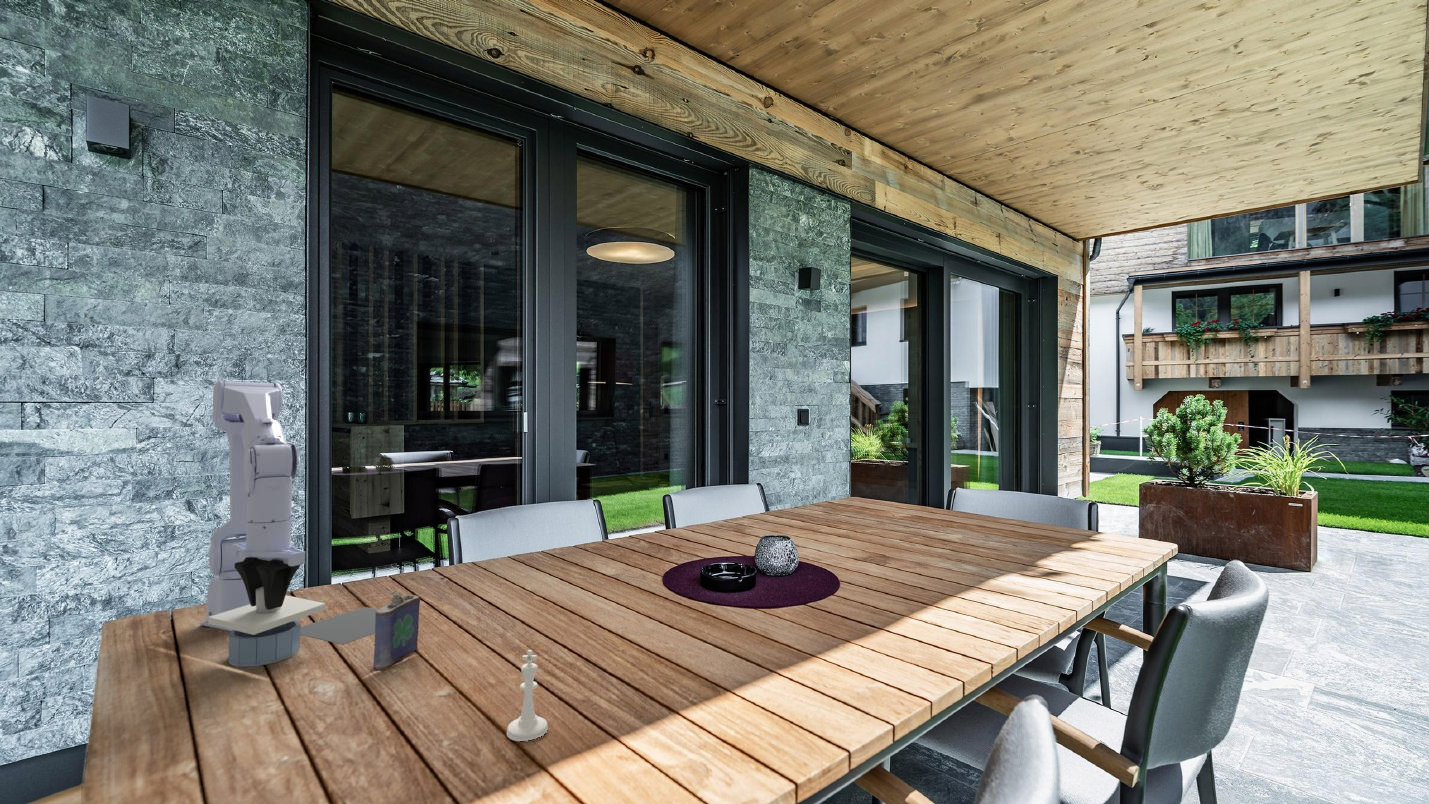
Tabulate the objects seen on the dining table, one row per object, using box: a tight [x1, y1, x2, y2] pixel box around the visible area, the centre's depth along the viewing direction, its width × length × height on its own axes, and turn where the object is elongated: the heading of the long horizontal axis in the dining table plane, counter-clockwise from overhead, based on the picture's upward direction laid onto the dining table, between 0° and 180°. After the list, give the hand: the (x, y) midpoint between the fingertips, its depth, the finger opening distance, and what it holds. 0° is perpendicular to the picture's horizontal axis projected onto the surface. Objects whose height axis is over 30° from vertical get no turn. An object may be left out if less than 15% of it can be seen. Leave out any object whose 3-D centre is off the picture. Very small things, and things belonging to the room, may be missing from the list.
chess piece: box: [506, 649, 549, 742], centre depth 77 cm, size 5×5×10 cm
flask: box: [373, 590, 421, 672], centre depth 98 cm, size 9×3×11 cm, turn 172°
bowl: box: [228, 619, 301, 668], centre depth 97 cm, size 9×9×4 cm
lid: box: [208, 587, 327, 635], centre depth 98 cm, size 11×11×4 cm
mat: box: [300, 606, 380, 646], centre depth 112 cm, size 14×15×1 cm
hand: (266, 606), depth 97 cm, fingers closed on lid, 3 cm apart
